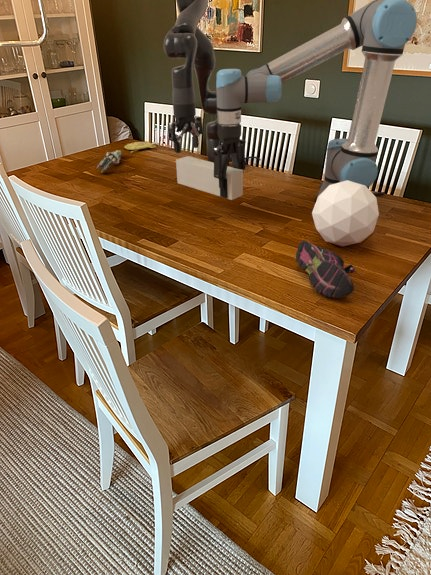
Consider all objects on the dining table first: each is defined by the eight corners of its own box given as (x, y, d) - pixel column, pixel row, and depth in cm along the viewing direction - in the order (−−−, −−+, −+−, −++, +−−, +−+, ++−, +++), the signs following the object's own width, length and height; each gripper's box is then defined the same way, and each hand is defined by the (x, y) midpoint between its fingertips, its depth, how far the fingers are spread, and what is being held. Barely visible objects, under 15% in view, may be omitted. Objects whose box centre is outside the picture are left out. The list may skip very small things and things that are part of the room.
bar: (177, 183, 164) (175, 159, 159) (188, 179, 167) (187, 155, 163) (231, 200, 148) (231, 174, 143) (242, 195, 152) (243, 170, 147)
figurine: (101, 154, 197) (119, 141, 223) (91, 167, 200) (110, 152, 227) (114, 165, 199) (130, 151, 225) (103, 178, 203) (121, 162, 229)
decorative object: (138, 138, 251) (166, 140, 241) (139, 142, 252) (166, 144, 242) (113, 146, 236) (141, 149, 226) (113, 151, 237) (142, 154, 228)
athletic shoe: (341, 287, 106) (380, 279, 110) (299, 225, 117) (336, 220, 122) (323, 315, 114) (360, 306, 119) (286, 254, 126) (321, 249, 130)
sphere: (321, 259, 144) (291, 205, 142) (371, 228, 146) (342, 175, 144) (347, 258, 125) (313, 196, 123) (404, 222, 128) (371, 161, 125)
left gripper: (175, 105, 142) (179, 156, 151) (206, 99, 151) (208, 147, 159) (160, 103, 146) (164, 152, 155) (191, 97, 155) (193, 144, 164)
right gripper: (217, 131, 131) (219, 205, 144) (257, 120, 142) (256, 189, 155) (199, 128, 136) (203, 199, 148) (239, 117, 147) (239, 184, 159)
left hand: (186, 150), depth 157 cm, fingers open, 8 cm apart
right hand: (230, 194), depth 151 cm, fingers closed on bar, 6 cm apart
